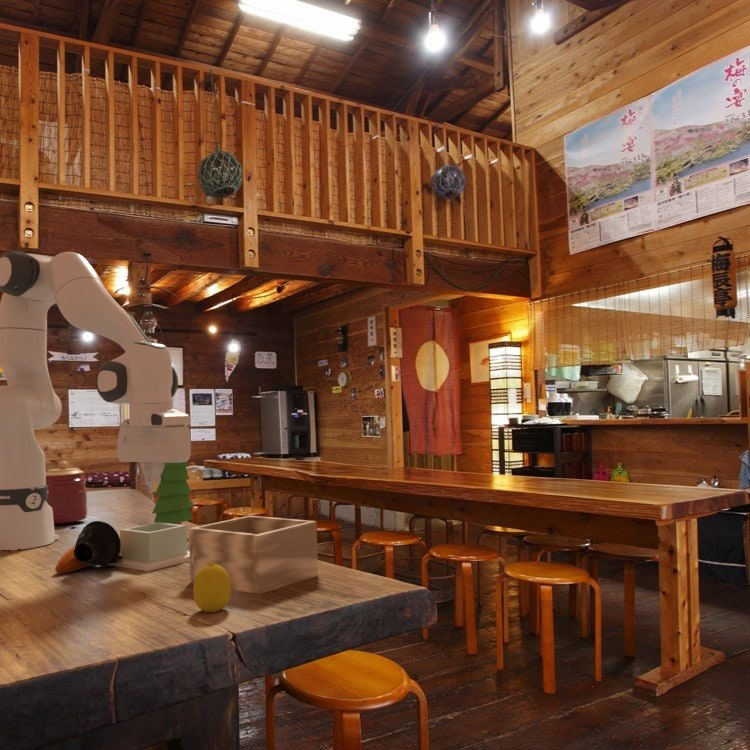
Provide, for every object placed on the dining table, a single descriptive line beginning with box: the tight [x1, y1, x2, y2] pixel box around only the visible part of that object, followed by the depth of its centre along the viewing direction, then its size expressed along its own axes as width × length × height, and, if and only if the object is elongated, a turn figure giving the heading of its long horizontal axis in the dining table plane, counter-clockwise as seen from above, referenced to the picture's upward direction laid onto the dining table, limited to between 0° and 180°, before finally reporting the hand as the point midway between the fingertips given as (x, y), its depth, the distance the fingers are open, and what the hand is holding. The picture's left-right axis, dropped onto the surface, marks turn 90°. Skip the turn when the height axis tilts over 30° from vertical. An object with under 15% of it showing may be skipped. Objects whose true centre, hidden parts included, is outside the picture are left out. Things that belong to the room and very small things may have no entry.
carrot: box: [54, 545, 92, 574], centre depth 134 cm, size 5×5×15 cm
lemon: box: [192, 562, 232, 613], centre depth 100 cm, size 6×6×8 cm
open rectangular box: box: [107, 522, 190, 572], centre depth 139 cm, size 14×14×7 cm
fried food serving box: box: [188, 515, 319, 595], centre depth 120 cm, size 17×15×10 cm
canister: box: [46, 460, 88, 524], centre depth 201 cm, size 13×13×18 cm
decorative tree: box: [151, 460, 195, 542], centre depth 161 cm, size 10×9×30 cm
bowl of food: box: [74, 520, 123, 568], centre depth 135 cm, size 9×11×18 cm
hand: (152, 483), depth 140 cm, fingers closed
